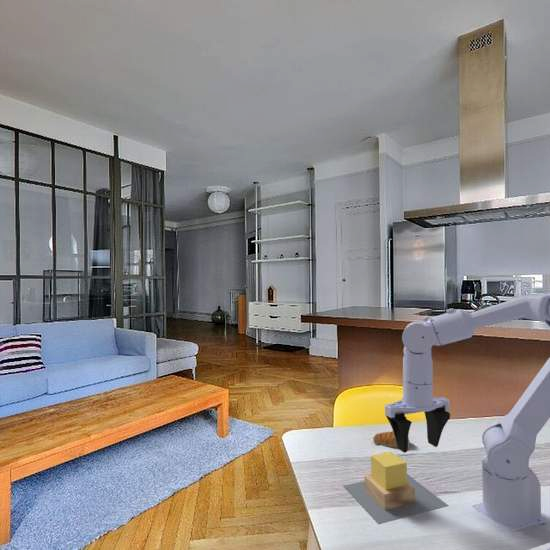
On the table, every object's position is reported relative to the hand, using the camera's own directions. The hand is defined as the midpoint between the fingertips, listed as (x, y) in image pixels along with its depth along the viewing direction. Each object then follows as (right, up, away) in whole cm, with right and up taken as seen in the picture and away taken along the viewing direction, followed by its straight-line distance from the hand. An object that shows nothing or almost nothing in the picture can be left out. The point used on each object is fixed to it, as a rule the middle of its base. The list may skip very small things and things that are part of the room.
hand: (417, 447), depth 76 cm
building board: (-5, -10, 0) cm, 12 cm away
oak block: (-6, -10, 0) cm, 12 cm away
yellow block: (-6, -7, 0) cm, 9 cm away
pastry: (+3, -11, +24) cm, 26 cm away
